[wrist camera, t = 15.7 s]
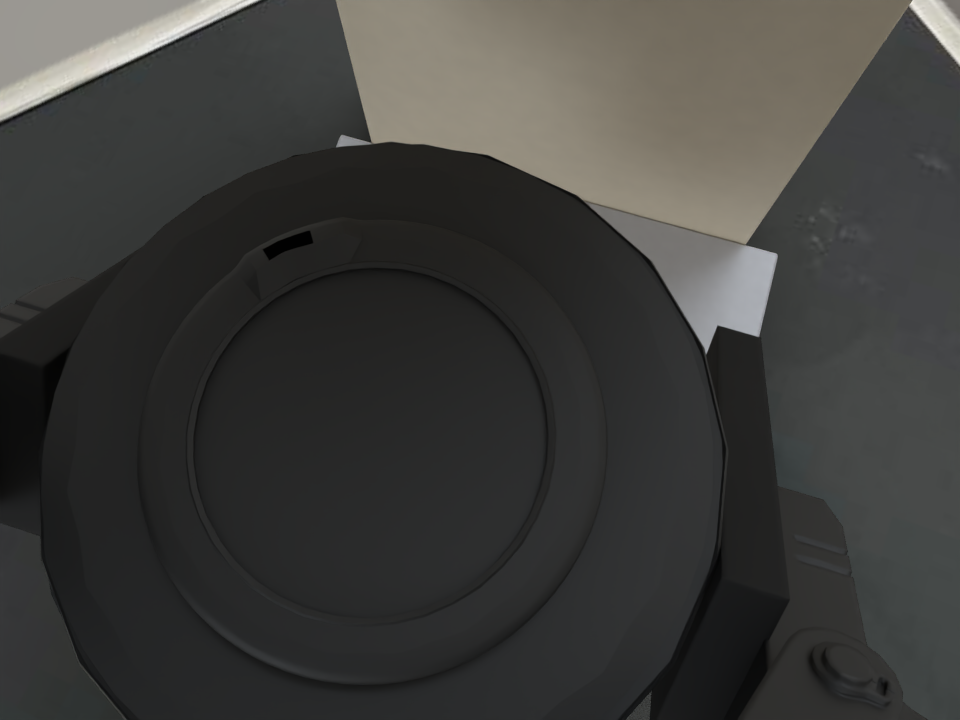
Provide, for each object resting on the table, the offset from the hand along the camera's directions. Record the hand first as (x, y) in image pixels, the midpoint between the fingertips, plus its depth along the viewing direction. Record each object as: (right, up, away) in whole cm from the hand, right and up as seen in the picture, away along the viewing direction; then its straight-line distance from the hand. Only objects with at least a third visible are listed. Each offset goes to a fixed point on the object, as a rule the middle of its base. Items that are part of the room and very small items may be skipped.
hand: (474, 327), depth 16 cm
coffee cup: (-1, -4, +3) cm, 5 cm away
